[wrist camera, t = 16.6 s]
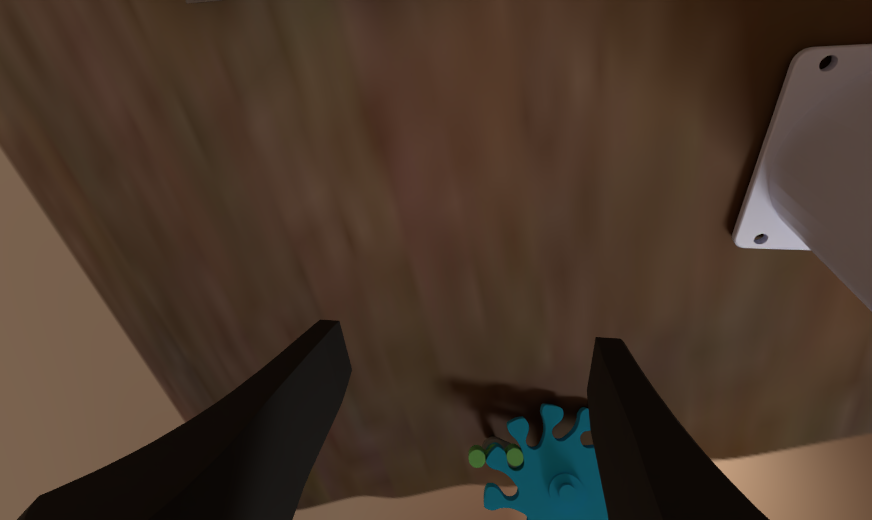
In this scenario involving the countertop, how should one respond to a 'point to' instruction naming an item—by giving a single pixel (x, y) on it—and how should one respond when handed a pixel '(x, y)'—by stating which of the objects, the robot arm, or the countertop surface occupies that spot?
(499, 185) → the countertop surface
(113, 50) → the countertop surface
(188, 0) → the rail base
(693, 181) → the countertop surface
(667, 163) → the countertop surface
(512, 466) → the gear
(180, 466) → the robot arm
